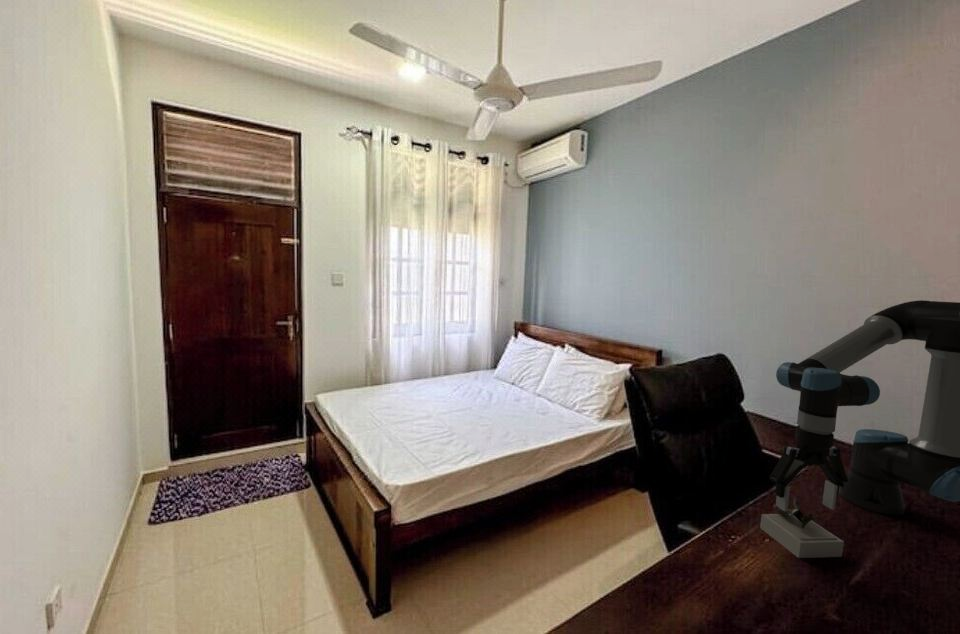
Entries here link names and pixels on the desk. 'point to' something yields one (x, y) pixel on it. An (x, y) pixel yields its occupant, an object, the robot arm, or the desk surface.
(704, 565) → the desk surface
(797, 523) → the tray
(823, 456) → the robot arm
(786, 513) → the eagle figurine
